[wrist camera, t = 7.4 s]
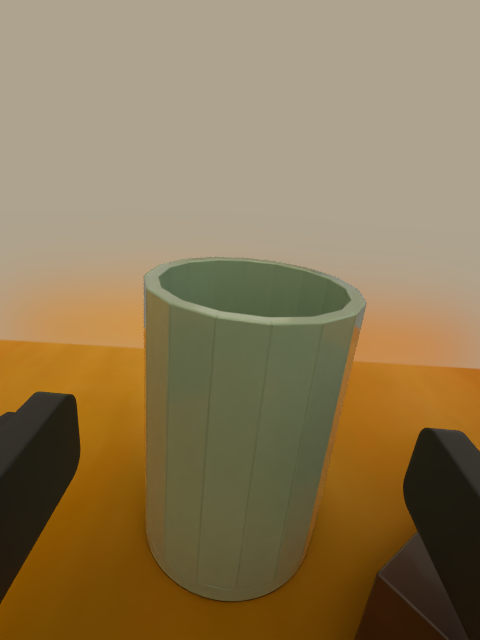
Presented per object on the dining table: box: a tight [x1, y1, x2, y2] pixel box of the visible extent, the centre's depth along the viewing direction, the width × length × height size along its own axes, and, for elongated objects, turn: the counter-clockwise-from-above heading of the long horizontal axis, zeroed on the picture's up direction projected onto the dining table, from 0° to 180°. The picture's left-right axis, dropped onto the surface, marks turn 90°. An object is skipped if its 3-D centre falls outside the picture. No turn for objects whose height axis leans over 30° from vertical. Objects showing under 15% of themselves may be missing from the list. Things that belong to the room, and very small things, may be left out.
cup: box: [144, 257, 366, 601], centre depth 12 cm, size 6×6×9 cm
